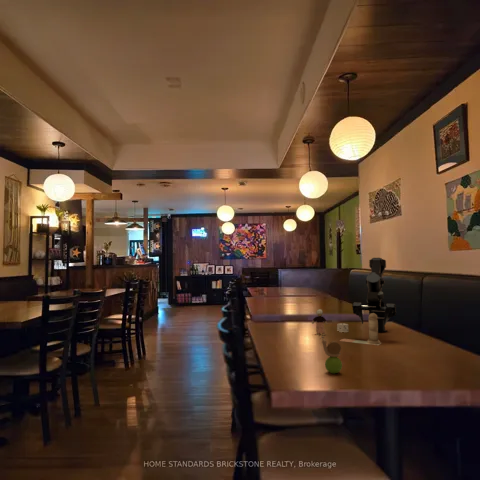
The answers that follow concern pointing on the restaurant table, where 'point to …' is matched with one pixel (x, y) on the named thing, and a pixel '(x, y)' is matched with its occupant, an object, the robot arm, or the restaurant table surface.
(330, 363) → the snail figurine
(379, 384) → the restaurant table surface
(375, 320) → the pawn
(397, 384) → the restaurant table surface
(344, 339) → the board
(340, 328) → the die
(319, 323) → the grandmother figurine
